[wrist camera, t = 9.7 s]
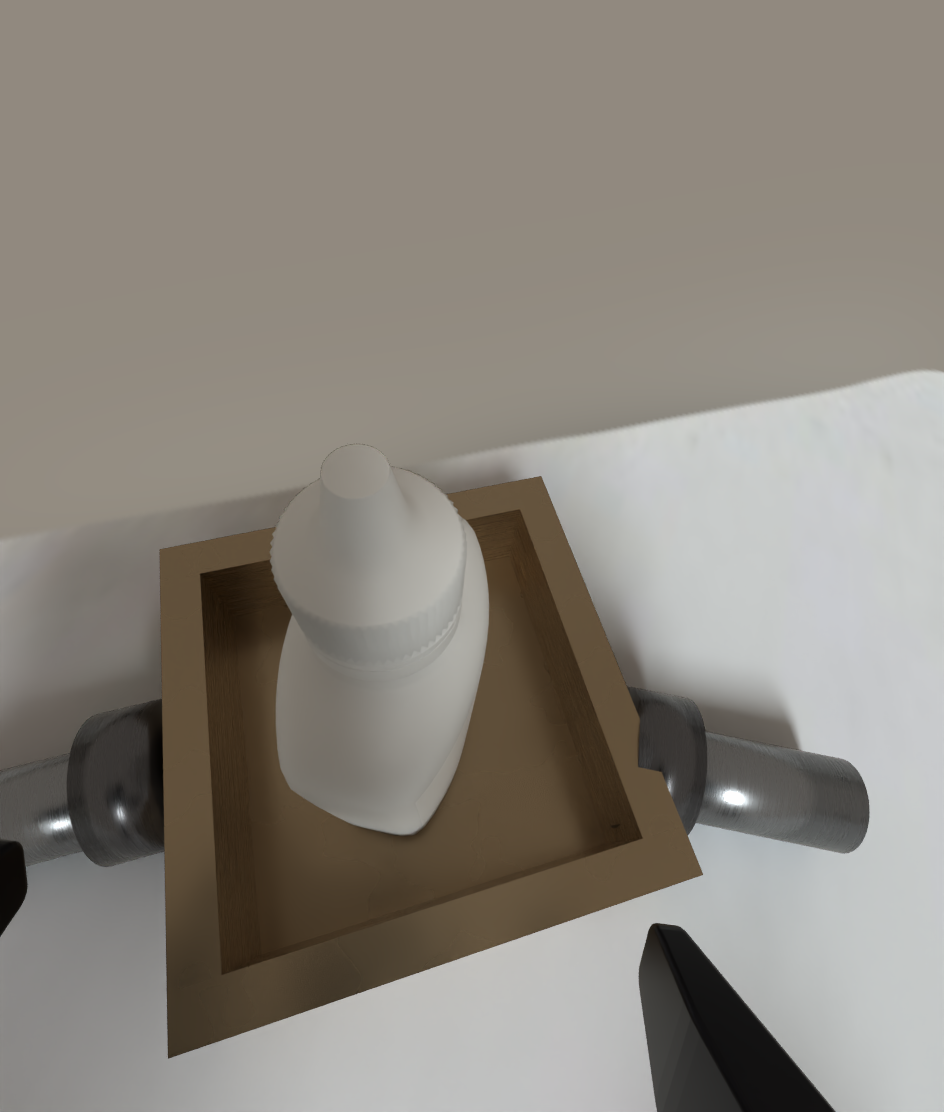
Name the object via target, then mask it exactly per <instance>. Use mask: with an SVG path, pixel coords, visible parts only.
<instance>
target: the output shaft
mask: <svg viewBox="0 0 944 1112" xmlns="http://www.w3.org/2000/svg"><path fill="white" fill-rule="evenodd" d="M627 688H628V691H629V693H630V696H631V698H632V701H633V703H634V706H635V708H636V711H637V713H638V716H639V718H640V733H639V758H638V767H640V768H645V769H649V770H654V771H659V772H662V775H663V777H664V779H665V782H666V784H667V787H668V789H669V792H670V794H671V797H672V799H673V802H674V804H675V806H676V809H677V811H678V814H679V816H680V819H681V821H682V824H683V826H684V829H685V831H686V834H687V835H688V834H689V833H690V832H691V830H692V829H693V827H694V825H695V823H698V824H703V825H708V826H713V827H718V828H722V829H727V830H732V831H737V832H742V833H746V834H751V835H756V836H761V837H766V838H771V839H775V840H780V841H785V842H790V843H795V844H799V845H804V846H809V847H814V848H819V849H823V850H828V851H833V852H838V853H850V852H852V851H854V850H855V849H856V848H857V847H858V846H859V845H860V844H861V843H862V841H863V839H864V837H865V834H866V832H867V828H868V823H869V800H868V794H867V790H866V787H865V784H864V782H863V780H862V777H861V776H860V774H859V772H858V771H857V770H856V768H855V767H854V766H853V765H852V764H851V763H849V762H848V761H846V760H844V759H840V758H835V757H830V756H825V755H820V754H815V753H810V752H805V751H800V750H795V749H790V748H785V747H780V746H775V745H771V744H766V743H761V742H756V741H751V740H746V739H741V738H736V737H731V736H726V735H721V734H716V733H711V732H706V731H705V727H704V723H703V719H702V716H701V714H700V711H699V709H698V707H697V706H696V704H695V703H694V702H693V701H692V700H690V699H688V698H683V697H678V696H673V695H668V694H663V693H658V692H653V691H648V690H643V689H638V688H633V687H628V686H627ZM619 825H620V824H617V825H612V826H610V827H612V828H617V827H619Z"/></svg>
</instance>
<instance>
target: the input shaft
mask: <svg viewBox="0 0 944 1112" xmlns="http://www.w3.org/2000/svg"><path fill="white" fill-rule="evenodd" d="M0 839H5V840H13V841H17V842H20V844H21V845H22V846H23V849H24V857H25V866H30V865H33V864H37V863H40V862H44V861H48V860H51V859H55V858H59V857H62V856H66V855H70V854H73V853H77V852H80V851H83V852H84V853H85V854H86V856H87V857H88V858H89V859H90V860H91V861H93V862H94V863H95V864H97V865H99V866H103V867H109V866H114V865H117V864H121V863H125V862H128V861H132V860H135V859H139V858H142V857H146V856H149V855H153V854H156V853H160V852H164V851H165V847H164V786H163V725H162V699H160V700H155V701H151V702H147V703H143V704H138V705H134V706H130V707H126V708H122V709H117V710H113V711H109V712H105V713H100V714H96V715H94V716H92V717H90V718H89V719H88V720H87V721H86V722H85V723H84V724H83V725H82V727H81V728H80V730H79V731H78V733H77V735H76V737H75V740H74V743H73V745H72V749H71V752H70V753H69V754H65V755H61V756H57V757H53V758H49V759H45V760H41V761H37V762H32V763H28V764H24V765H20V766H16V767H12V768H8V769H4V770H0Z"/></svg>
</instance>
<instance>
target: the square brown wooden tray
mask: <svg viewBox="0 0 944 1112" xmlns="http://www.w3.org/2000/svg"><path fill="white" fill-rule="evenodd" d="M446 495H448V499H449V500H451V501H452V502H453V506H454V507H455V508H457V509H458V514H459V515H460V516H461V517H462V518H463V519H465V520H466V521H467V522H468V524H469V525H470V526H471V527H472V529H473V530H474V532H475V534H476V537H477V540H478V542H479V545H480V548H481V552H482V556H483V559H484V564H485V570H486V575H487V583H488V593H489V625H488V636H487V644H486V650H485V656H484V662H483V667H482V671H481V676H480V680H479V684H478V689H477V693H476V697H475V702H474V706H473V710H472V714H471V718H470V722H469V726H468V731H467V735H466V739H465V743H464V747H463V750H462V754H461V757H460V761H459V763H458V766H457V769H456V772H455V774H454V777H453V779H452V781H451V784H450V786H449V788H448V790H447V792H446V794H445V796H444V798H443V799H442V801H441V803H440V805H439V807H438V808H437V810H436V811H435V813H434V815H433V816H432V818H431V819H430V820H429V822H428V823H427V824H426V826H425V827H424V828H423V829H422V830H420V831H419V832H418V833H416V834H415V835H410V836H398V835H393V834H388V833H383V832H379V831H375V830H370V829H366V828H362V827H359V826H355V825H352V824H350V823H348V822H346V821H344V820H342V819H340V818H338V817H336V816H334V815H332V814H330V813H328V812H326V811H325V810H323V809H321V808H319V807H317V806H315V805H314V804H312V803H311V802H309V801H308V800H306V799H305V798H303V797H302V796H300V795H299V794H297V793H296V792H294V791H293V790H291V789H290V787H289V785H288V783H287V781H286V779H285V777H284V775H283V773H282V771H281V769H280V763H279V756H278V750H277V734H276V691H277V680H278V672H279V663H280V658H281V653H282V648H283V644H284V640H285V636H286V633H287V629H288V625H289V622H290V619H291V616H292V613H291V611H290V609H289V607H288V606H287V604H286V602H285V600H284V598H283V597H282V595H281V593H280V591H279V590H278V588H277V587H278V586H277V584H276V582H275V581H274V575H273V573H272V571H271V569H272V565H271V563H270V559H271V557H272V556H271V554H270V550H271V548H272V546H271V544H270V543H271V541H272V540H273V538H274V537H273V535H272V534H273V532H274V531H275V530H276V527H274V528H268V529H263V530H258V531H253V532H248V533H242V534H237V535H232V536H227V537H222V538H216V539H211V540H206V541H201V542H196V543H190V544H185V545H180V546H175V547H169V548H164V549H160V603H161V664H162V725H163V786H164V847H165V907H166V968H167V1029H168V1058H171V1057H174V1056H177V1055H180V1054H183V1053H186V1052H189V1051H192V1050H195V1049H198V1048H200V1047H203V1046H206V1045H209V1044H212V1043H215V1042H218V1041H221V1040H224V1039H227V1038H230V1037H232V1036H235V1035H238V1034H241V1033H244V1032H247V1031H250V1030H253V1029H256V1028H259V1027H262V1026H264V1025H267V1024H270V1023H273V1022H276V1021H279V1020H282V1019H285V1018H288V1017H291V1016H294V1015H296V1014H299V1013H302V1012H305V1011H308V1010H311V1009H314V1008H317V1007H320V1006H323V1005H326V1004H328V1003H331V1002H334V1001H337V1000H340V999H343V998H346V997H349V996H352V995H355V994H358V993H361V992H363V991H366V990H369V989H372V988H375V987H378V986H381V985H384V984H387V983H390V982H393V981H395V980H398V979H401V978H404V977H407V976H410V975H413V974H416V973H419V972H422V971H425V970H427V969H430V968H433V967H436V966H439V965H442V964H445V963H448V962H451V961H454V960H457V959H459V958H462V957H465V956H468V955H471V954H474V953H477V952H480V951H483V950H486V949H489V948H491V947H494V946H497V945H500V944H503V943H506V942H509V941H512V940H515V939H518V938H521V937H523V936H526V935H529V934H532V933H535V932H538V931H541V930H544V929H547V928H550V927H553V926H555V925H558V924H561V923H564V922H567V921H570V920H573V919H576V918H579V917H582V916H585V915H587V914H590V913H593V912H596V911H599V910H602V909H605V908H608V907H611V906H614V905H617V904H619V903H622V902H625V901H628V900H631V899H634V898H637V897H640V896H643V895H646V894H649V893H651V892H654V891H657V890H660V889H663V888H666V887H669V886H672V885H675V884H678V883H681V882H683V881H686V880H689V879H692V878H695V877H698V876H701V875H703V873H702V870H701V868H700V865H699V863H698V861H697V858H696V856H695V853H694V851H693V848H692V846H691V843H690V841H689V838H688V836H687V834H686V831H685V829H684V826H683V824H682V821H681V819H680V816H679V814H678V811H677V809H676V806H675V804H674V802H673V799H672V797H671V794H670V792H669V789H668V787H667V784H666V782H665V779H664V777H663V775H662V772H659V771H654V770H649V769H645V768H640V767H638V758H639V733H640V718H639V716H638V713H637V711H636V708H635V706H634V703H633V701H632V698H631V696H630V693H629V691H628V688H627V686H626V684H625V681H624V679H623V676H622V674H621V671H620V669H619V666H618V664H617V661H616V659H615V657H614V654H613V652H612V649H611V647H610V644H609V642H608V639H607V637H606V634H605V632H604V629H603V627H602V625H601V622H600V620H599V617H598V615H597V612H596V610H595V607H594V605H593V602H592V600H591V598H590V595H589V593H588V590H587V588H586V585H585V583H584V580H583V578H582V575H581V573H580V570H579V568H578V566H577V563H576V561H575V558H574V556H573V553H572V551H571V548H570V546H569V543H568V541H567V539H566V536H565V534H564V531H563V529H562V526H561V524H560V521H559V519H558V516H557V514H556V511H555V509H554V507H553V504H552V502H551V499H550V497H549V494H548V492H547V489H546V487H545V484H544V482H543V480H542V477H541V476H539V477H534V478H529V479H524V480H519V481H513V482H508V483H503V484H498V485H493V486H487V487H482V488H477V489H472V490H466V491H461V492H456V493H451V494H446ZM617 824H620V825H619V827H617V828H612V827H610V826H612V825H617Z"/></svg>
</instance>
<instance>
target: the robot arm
mask: <svg viewBox="0 0 944 1112" xmlns="http://www.w3.org/2000/svg"><path fill="white" fill-rule="evenodd" d="M26 893H27V875H26V866H25V857H24V849H23V846H22V845H21V844H20V842H17V841H13V840H5V839H0V937H1V935H2V934H3V932H4V931H5V929H6V928H7V926H8V925H9V923H10V922H11V920H12V919H13V917H14V916H15V914H16V913H17V911H18V910H19V908H20V907H21V905H22V903H23V901H24V899H25V896H26ZM639 988H640V996H641V1003H642V1010H643V1017H644V1024H645V1031H646V1038H647V1045H648V1052H649V1059H650V1067H651V1074H652V1081H653V1088H654V1095H655V1102H656V1108H657V1112H836V1111H835V1110H834V1109H833V1108H832V1107H831V1105H830V1104H829V1103H828V1102H827V1101H826V1099H825V1098H824V1097H823V1096H822V1095H821V1093H820V1092H819V1091H818V1090H817V1089H816V1087H815V1086H814V1085H813V1084H812V1083H811V1081H810V1080H809V1079H808V1078H807V1077H806V1075H805V1074H804V1073H803V1072H802V1071H801V1069H800V1068H799V1067H798V1066H797V1065H796V1063H795V1062H794V1061H793V1060H792V1059H791V1057H790V1056H789V1055H788V1054H787V1053H786V1051H785V1050H784V1049H783V1048H782V1047H781V1045H780V1044H779V1043H778V1042H777V1041H776V1039H775V1038H774V1037H773V1036H772V1035H771V1033H770V1032H769V1031H768V1030H767V1029H766V1027H765V1026H764V1025H763V1024H762V1023H761V1021H760V1020H759V1019H758V1018H757V1016H756V1015H755V1014H754V1013H753V1012H752V1010H751V1009H750V1008H749V1007H748V1006H747V1004H746V1003H745V1002H744V1001H743V1000H742V998H741V997H740V996H739V995H738V994H737V992H736V991H735V990H734V989H733V988H732V986H731V985H730V984H729V983H728V982H727V980H726V979H725V978H724V977H723V976H722V974H721V973H720V972H719V971H718V970H717V968H716V967H715V966H714V965H713V964H712V962H711V961H710V960H709V959H708V958H707V956H706V955H705V954H704V953H703V952H702V950H701V949H700V948H699V947H698V946H697V944H696V943H695V942H694V941H693V940H692V938H691V937H690V936H689V935H688V934H687V932H686V931H685V930H683V929H682V928H681V927H679V926H675V925H667V924H659V923H655V924H652V925H651V927H650V929H649V931H648V935H647V939H646V943H645V947H644V950H643V954H642V958H641V962H640V966H639Z"/></svg>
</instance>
